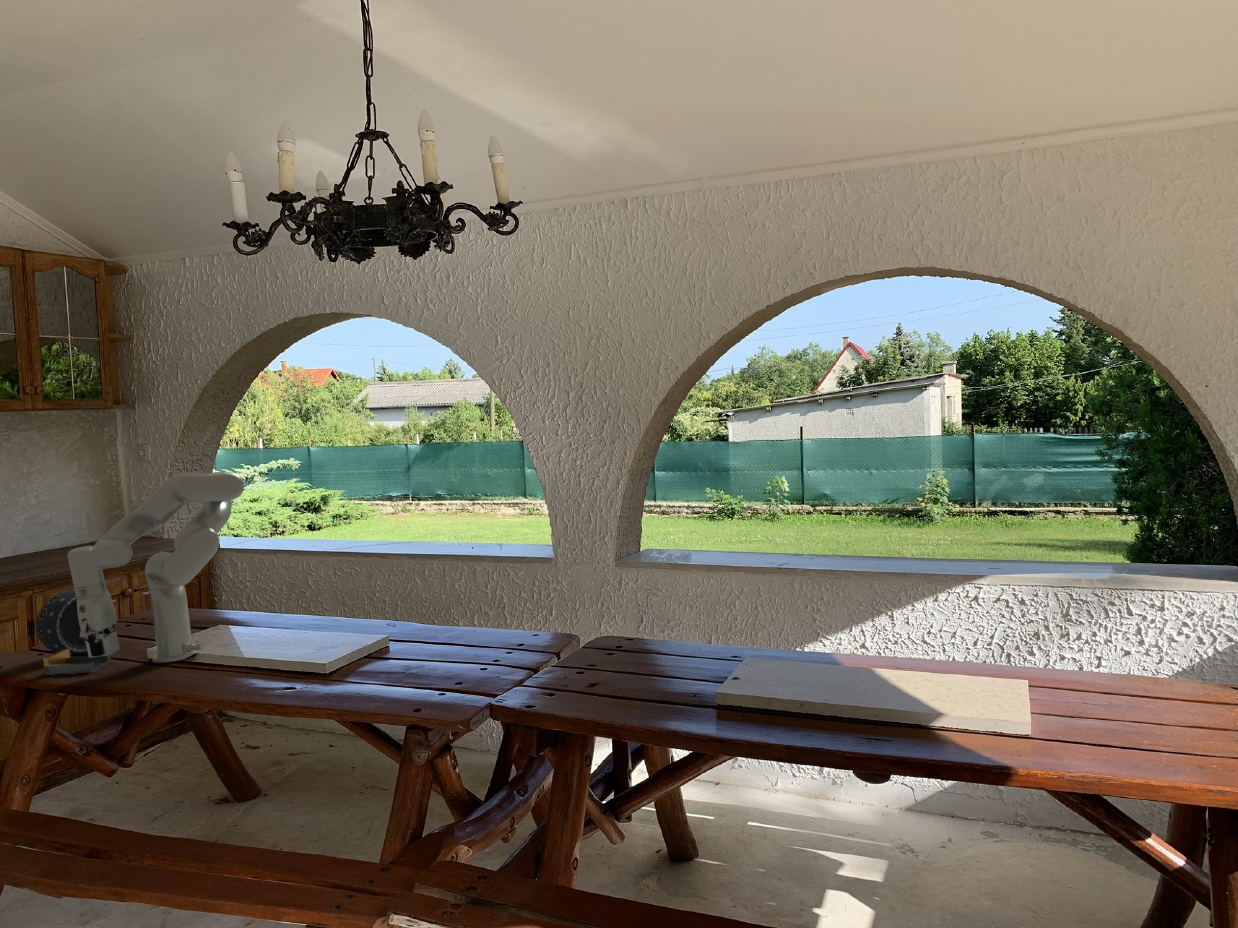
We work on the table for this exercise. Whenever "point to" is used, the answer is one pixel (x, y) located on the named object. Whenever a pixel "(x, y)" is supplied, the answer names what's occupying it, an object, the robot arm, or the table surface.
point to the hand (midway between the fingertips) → (104, 651)
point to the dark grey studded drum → (61, 624)
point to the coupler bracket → (73, 663)
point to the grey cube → (106, 644)
